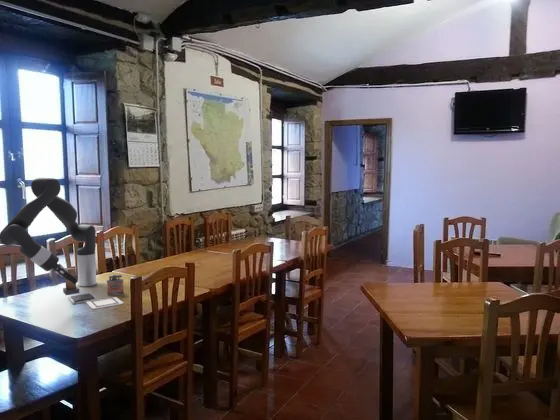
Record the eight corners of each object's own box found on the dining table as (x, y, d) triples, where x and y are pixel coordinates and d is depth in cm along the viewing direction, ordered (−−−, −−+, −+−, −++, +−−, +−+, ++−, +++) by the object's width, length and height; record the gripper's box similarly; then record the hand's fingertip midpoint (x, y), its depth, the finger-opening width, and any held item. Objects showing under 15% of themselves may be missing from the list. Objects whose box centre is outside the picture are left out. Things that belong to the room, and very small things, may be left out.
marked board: (86, 303, 219) (86, 301, 219) (115, 297, 227) (115, 296, 227) (92, 309, 209) (92, 307, 209) (123, 303, 217) (123, 302, 217)
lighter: (107, 295, 231) (106, 276, 230) (107, 293, 234) (106, 274, 233) (123, 294, 233) (123, 275, 232) (124, 292, 237) (123, 273, 235)
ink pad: (68, 298, 226) (68, 296, 225) (91, 295, 232) (91, 292, 232) (73, 304, 217) (73, 301, 217) (97, 300, 223) (97, 297, 223)
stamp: (63, 292, 208) (62, 268, 206) (76, 290, 211) (75, 267, 210) (65, 295, 203) (64, 271, 202) (79, 293, 206) (78, 269, 205)
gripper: (53, 254, 195) (85, 277, 203) (47, 249, 206) (77, 271, 214) (40, 268, 192) (73, 291, 201) (35, 262, 203) (66, 284, 212)
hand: (75, 281), depth 207 cm, fingers closed on stamp, 4 cm apart
